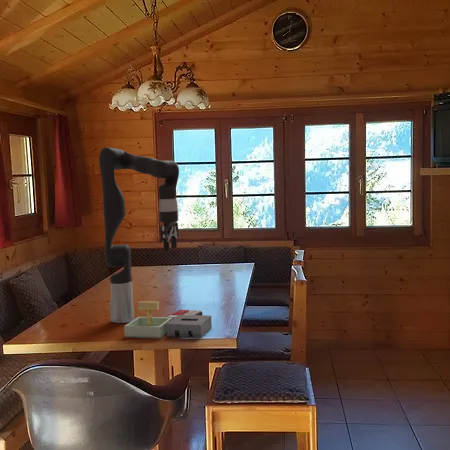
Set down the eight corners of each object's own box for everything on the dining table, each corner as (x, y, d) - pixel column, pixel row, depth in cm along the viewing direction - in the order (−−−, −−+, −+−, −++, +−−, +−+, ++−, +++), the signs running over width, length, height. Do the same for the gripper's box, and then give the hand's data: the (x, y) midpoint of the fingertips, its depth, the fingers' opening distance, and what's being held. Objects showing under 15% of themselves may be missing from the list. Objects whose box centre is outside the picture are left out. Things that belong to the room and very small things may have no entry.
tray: (124, 337, 227) (124, 325, 226) (139, 327, 240) (138, 316, 240) (160, 338, 223) (159, 327, 222) (173, 328, 236) (172, 317, 236)
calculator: (202, 309, 251) (190, 317, 237) (202, 319, 252) (190, 327, 237) (179, 308, 255) (165, 315, 241) (179, 318, 255) (165, 326, 241)
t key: (160, 330, 231) (158, 301, 230) (158, 332, 229) (156, 302, 228) (141, 330, 233) (140, 300, 232) (139, 331, 231) (137, 302, 230)
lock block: (167, 336, 225) (166, 323, 225) (179, 326, 239) (178, 314, 238) (201, 337, 221) (200, 325, 221) (211, 327, 235) (211, 315, 234)
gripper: (170, 211, 226) (173, 252, 228) (183, 208, 240) (185, 247, 242) (153, 211, 228) (155, 252, 230) (166, 208, 242) (168, 247, 244)
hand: (170, 249), depth 236 cm, fingers open, 8 cm apart
